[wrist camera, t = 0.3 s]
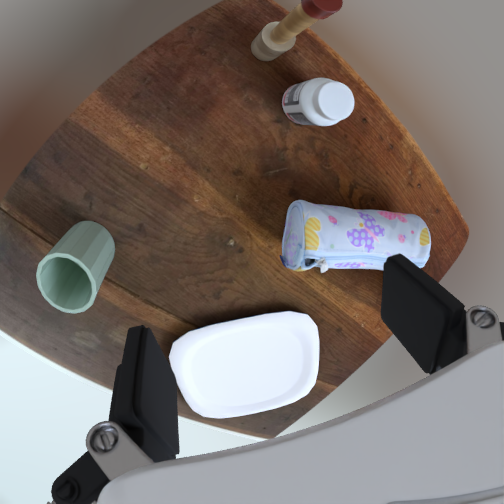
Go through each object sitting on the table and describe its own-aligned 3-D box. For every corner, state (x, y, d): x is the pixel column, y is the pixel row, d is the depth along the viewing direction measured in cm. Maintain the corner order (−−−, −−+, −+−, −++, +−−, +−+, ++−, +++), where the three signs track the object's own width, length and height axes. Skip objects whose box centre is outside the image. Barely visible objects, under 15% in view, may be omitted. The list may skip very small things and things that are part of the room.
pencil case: (271, 252, 42) (292, 288, 33) (280, 191, 38) (306, 213, 30) (391, 255, 46) (425, 284, 38) (404, 205, 43) (444, 227, 34)
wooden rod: (248, 37, 29) (296, -23, 13) (276, 34, 29) (343, -21, 13) (254, 63, 31) (308, 19, 15) (282, 59, 31) (355, 20, 15)
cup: (58, 229, 34) (26, 263, 25) (103, 213, 35) (78, 244, 26) (78, 276, 38) (55, 318, 29) (122, 263, 38) (106, 305, 29)
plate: (156, 328, 44) (156, 335, 42) (317, 295, 47) (321, 301, 45) (195, 417, 55) (196, 424, 53) (314, 392, 58) (317, 398, 56)
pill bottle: (327, 115, 35) (367, 117, 26) (292, 130, 35) (324, 136, 27) (311, 77, 33) (348, 67, 24) (273, 92, 33) (301, 84, 24)
